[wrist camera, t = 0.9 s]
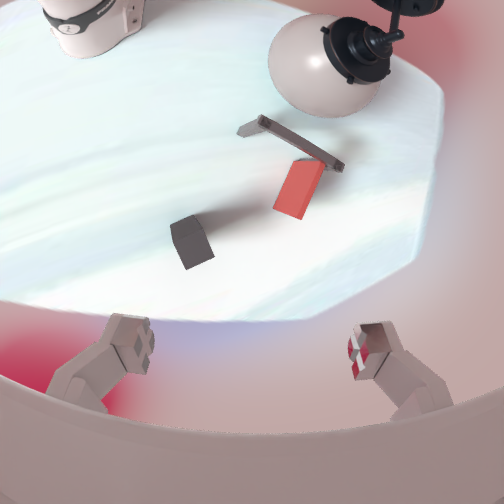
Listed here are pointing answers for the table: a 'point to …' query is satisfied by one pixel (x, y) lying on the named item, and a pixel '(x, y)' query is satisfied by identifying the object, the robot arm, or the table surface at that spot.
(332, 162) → the frame
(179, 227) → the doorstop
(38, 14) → the table surface
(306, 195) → the red square panel
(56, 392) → the robot arm
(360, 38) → the light fixture
